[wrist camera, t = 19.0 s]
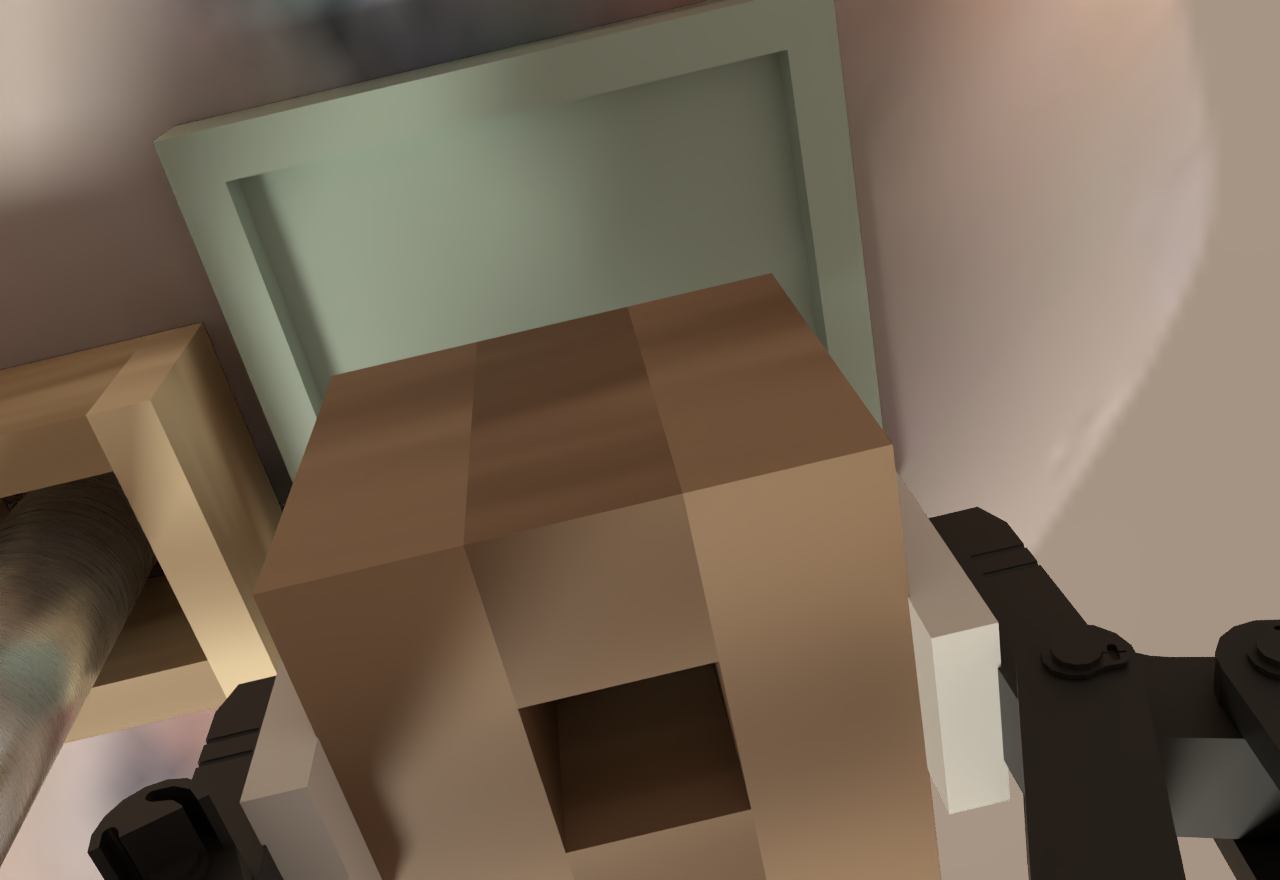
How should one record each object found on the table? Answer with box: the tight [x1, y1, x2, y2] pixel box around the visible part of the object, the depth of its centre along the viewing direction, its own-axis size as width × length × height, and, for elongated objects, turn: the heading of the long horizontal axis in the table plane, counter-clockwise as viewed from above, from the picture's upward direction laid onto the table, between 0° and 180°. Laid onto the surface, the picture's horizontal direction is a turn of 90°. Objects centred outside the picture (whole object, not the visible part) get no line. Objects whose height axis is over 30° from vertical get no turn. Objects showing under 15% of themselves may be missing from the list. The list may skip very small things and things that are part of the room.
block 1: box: [0, 323, 282, 743], centre depth 23 cm, size 7×7×4 cm
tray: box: [152, 0, 883, 482], centre depth 24 cm, size 13×13×2 cm
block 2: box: [252, 273, 941, 880], centre depth 16 cm, size 7×7×6 cm
